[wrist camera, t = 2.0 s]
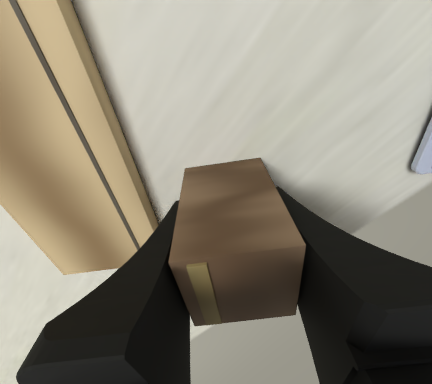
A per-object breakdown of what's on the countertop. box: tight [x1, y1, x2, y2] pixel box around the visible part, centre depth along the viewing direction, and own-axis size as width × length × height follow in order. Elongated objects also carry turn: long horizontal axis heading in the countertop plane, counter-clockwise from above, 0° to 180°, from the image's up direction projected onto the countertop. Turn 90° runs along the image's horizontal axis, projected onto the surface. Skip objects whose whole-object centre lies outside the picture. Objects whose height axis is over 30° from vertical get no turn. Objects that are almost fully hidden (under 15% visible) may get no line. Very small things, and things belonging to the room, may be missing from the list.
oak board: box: [0, 0, 159, 275], centre depth 8 cm, size 7×22×1 cm, turn 8°
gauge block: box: [168, 158, 306, 326], centre depth 10 cm, size 4×4×6 cm
